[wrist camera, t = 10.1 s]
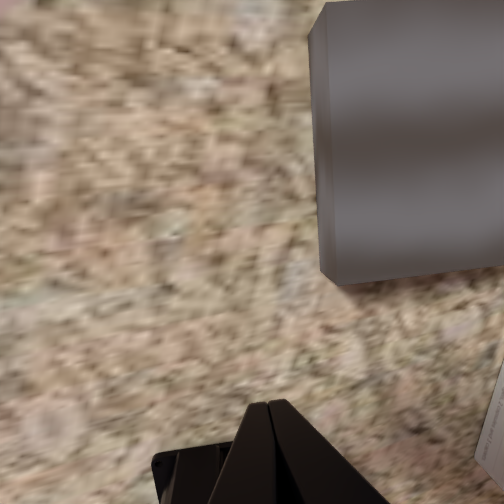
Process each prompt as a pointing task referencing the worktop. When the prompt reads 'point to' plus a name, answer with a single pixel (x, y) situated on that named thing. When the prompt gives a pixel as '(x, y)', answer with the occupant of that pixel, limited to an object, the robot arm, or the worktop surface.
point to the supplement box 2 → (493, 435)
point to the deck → (408, 137)
